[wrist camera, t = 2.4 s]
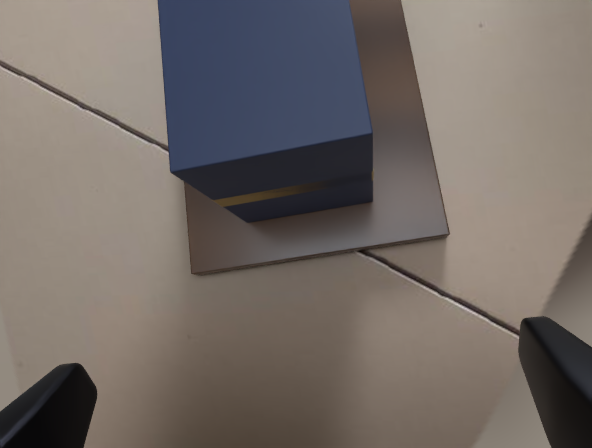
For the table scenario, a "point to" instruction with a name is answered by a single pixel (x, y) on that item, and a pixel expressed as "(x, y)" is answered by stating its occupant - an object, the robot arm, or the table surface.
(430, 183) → the walnut board
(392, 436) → the table surface
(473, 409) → the table surface
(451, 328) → the table surface
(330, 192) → the navy box
